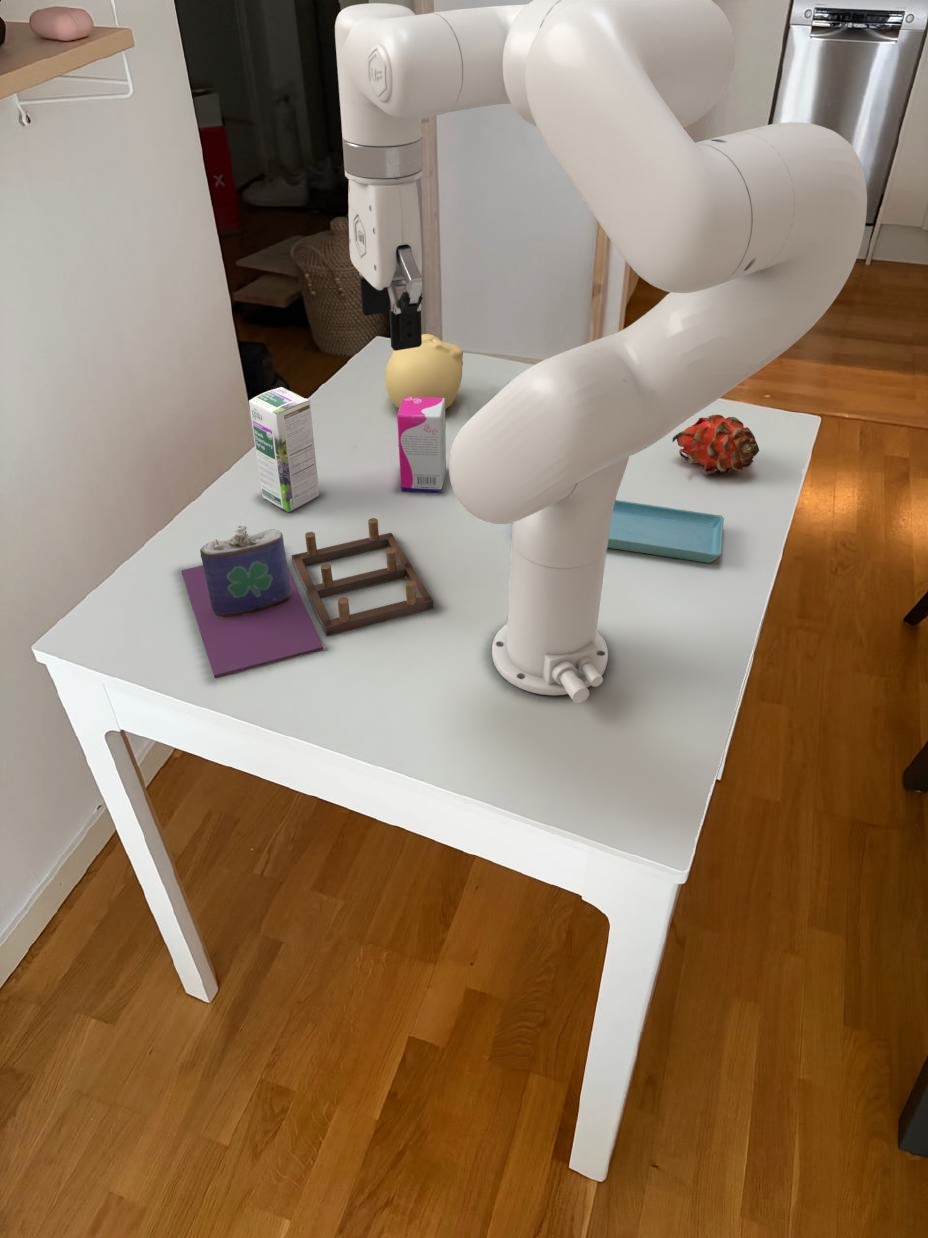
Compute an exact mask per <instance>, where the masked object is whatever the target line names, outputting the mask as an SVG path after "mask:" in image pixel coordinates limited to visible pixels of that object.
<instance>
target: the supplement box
mask: <svg viewBox="0 0 928 1238" xmlns="http://www.w3.org/2000/svg"><path fill="white" fill-rule="evenodd" d="M396 417H397V419H396V421H397V439H398V442H397V443H398V459H399V475H400V476H399V479H400V490H401V491H402V492H418V493H435V494H436V493H437V494H442V492H443V488H444V485H445V479H446V476H447V447H446V446H447V443H446V439H447V437H446V409H445V398H427V397H404V398H403V401H402V404H401V407H400V409H399V410H398V412H397V415H396Z"/></svg>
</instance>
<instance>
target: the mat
mask: <svg viewBox="0 0 928 1238" xmlns="http://www.w3.org/2000/svg"><path fill="white" fill-rule="evenodd" d="M287 569H288V567H287ZM181 574H182V577H183V581H184V583H185V587H186V589H187V594H188V597H189V600H190V603H191V606H192V610H193V613H194V616H195V620H196V622H197V626H198V629H199V632H200V635H201V638H202V642H203V645H204V649H205V652H206V655H207V658H208V661H209V664H210V668H211V671H212V673H213V677H214V678H220V677H223V676H227V675H231V674H234V673H238V672H242V671H245V670H250V669H254V668H258V667H262V666H265V665H268V664H269V665H270V664H273V663H277V662H280V661H285V660H288V659H293V658H295V657H296V658H297V657H300V656H305V655H308V654H311V653H314V652H319V651H322V650H324V646H323V644H322V641H321V639H320V637H319V635H318V632H317V631H316V628H315V626H314V624H313V622H312V619H311V617H310V615H309V613H308V611H307V609H306V606H305V604H304V602H303V600H302V597H301V595H300V593H299V591H298V588H297V586H296V583H295V582H294V580H293V577H292V574H291V573H290V571H289V569H288V576H289V582H290V588H291V596H290V599H289V600H288V601H285V602H284V603H282V604H280V605H276V606H274V607H270V608H266V609H263V610H259V611H256V612H254V613H250V614H246V615H241V616H235V617H230V618H218V617H216V616H215V614H214V612H213V610H212V606H211V601H210V597H209V591H208V586H207V581H206V576H205V573H204V568H203V565H198V566H194V567H190V568H189V567H188V568H184V569H182V570H181Z"/></svg>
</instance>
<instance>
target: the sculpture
mask: <svg viewBox="0 0 928 1238" xmlns="http://www.w3.org/2000/svg"><path fill="white" fill-rule="evenodd" d="M463 358H464V350H463V349H462V348H461V347H460V346H458V345H456V344H453V343H449V342H445V341H442V340H440V338H438V336H435V335H434V334H430V333H422V344H421V346H420V347H415V348H409V349H403V350H397V351H395V350H393V349H392V354H391V356H390V357H389V360H388V362H387V365H386V368H385V373H384V374H385V375H384V382H385V388H386V393H387V394H388V397H389V398H390V400H391V402H392V403H393V404H394V406H395V407H397V408H398V409H399V410H400V407H401V404H402V401H403V398H404V397H427V398H445V410H446V409H448V408H449V407H450V406H451V405H452V404H453V403H454V402H455V400H456V398H457V396H458V393H459V390H460V387H461V383H462V380H463V366H464V360H463Z"/></svg>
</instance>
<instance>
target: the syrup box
mask: <svg viewBox="0 0 928 1238" xmlns="http://www.w3.org/2000/svg"><path fill="white" fill-rule="evenodd" d="M248 406H249V414H250V420H251V421H250V422H251V427H252V434H253V440H254V448H255V455H256V461H257V468H258V477H259V483H260V491H261V497H262V499H264V500H267V501H268V502H270V503H271V504H273V505H275V506H276V507H279V508H280V509H282V510H283V511H285V512H287V513H290V512H292V511H294V510H296V509H298V508H299V507H301V506H304V505H306V504H307V503H309V502H311V501H312V500H314V499H316V498H318V497H319V496H320V488H319V478H318V469H317V459H316V448H315V439H314V429H313V418H312V409H311V400H310V399H309V398H304V397H302V396H301V395H299V394H297V393H295V392H294V391H291V390H289V389H287V388H285V387H283V386H280V387H277V388H273V389H270V390H267V391H265V392H262V393H260V394H258V395H256V396H254V397H252V398H251V399H249V400H248Z"/></svg>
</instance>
